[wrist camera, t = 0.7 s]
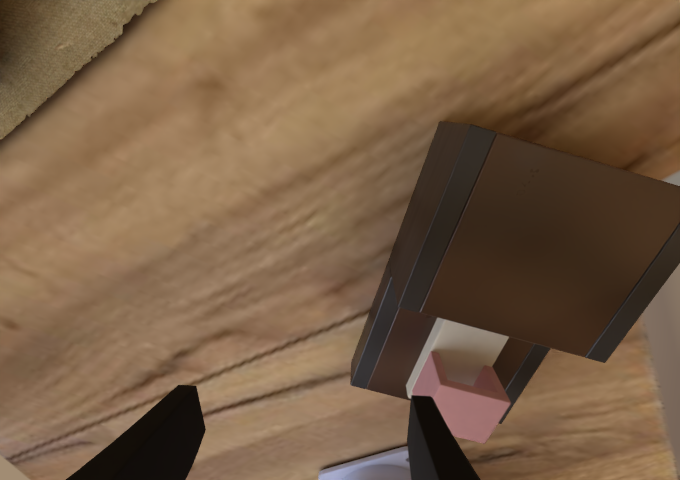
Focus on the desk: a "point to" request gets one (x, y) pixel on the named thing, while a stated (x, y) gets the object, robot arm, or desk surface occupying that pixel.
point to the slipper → (462, 378)
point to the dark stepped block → (518, 257)
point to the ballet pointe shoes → (51, 47)
